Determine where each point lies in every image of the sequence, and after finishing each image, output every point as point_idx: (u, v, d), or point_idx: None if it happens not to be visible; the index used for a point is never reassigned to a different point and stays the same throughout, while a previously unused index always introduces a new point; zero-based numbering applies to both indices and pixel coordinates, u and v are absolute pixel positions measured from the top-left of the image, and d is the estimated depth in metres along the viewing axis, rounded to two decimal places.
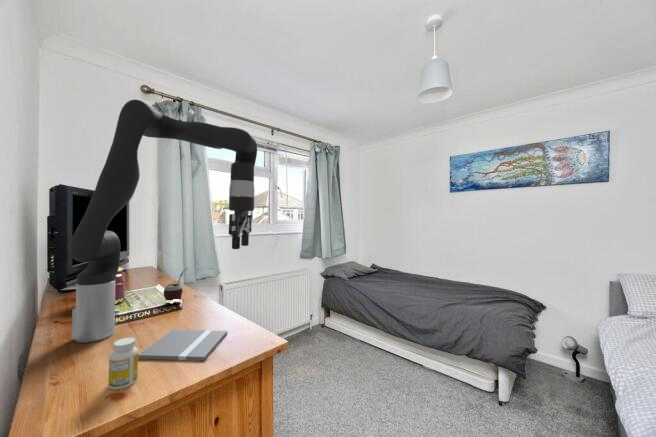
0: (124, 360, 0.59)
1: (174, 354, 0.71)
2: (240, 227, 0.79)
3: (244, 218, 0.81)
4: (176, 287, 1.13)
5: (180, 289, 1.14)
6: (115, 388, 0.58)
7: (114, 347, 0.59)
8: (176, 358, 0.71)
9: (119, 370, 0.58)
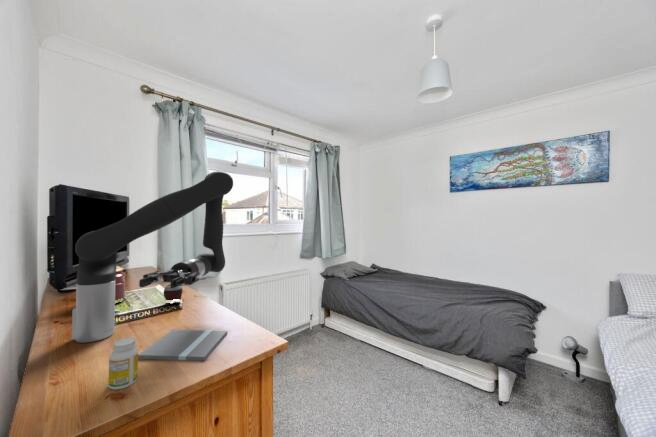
0: (124, 360, 0.59)
1: (174, 354, 0.71)
2: None
3: None
4: (176, 287, 1.13)
5: (180, 289, 1.14)
6: (115, 388, 0.58)
7: (114, 347, 0.59)
8: (176, 358, 0.71)
9: (119, 370, 0.58)
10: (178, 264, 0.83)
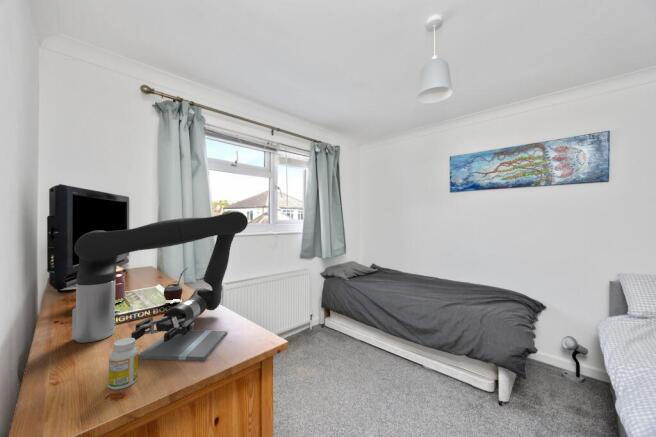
0: (124, 360, 0.59)
1: (174, 354, 0.71)
2: None
3: None
4: (176, 287, 1.13)
5: (180, 289, 1.14)
6: (115, 388, 0.58)
7: (114, 347, 0.59)
8: (176, 358, 0.71)
9: (119, 370, 0.58)
10: (172, 310, 0.81)
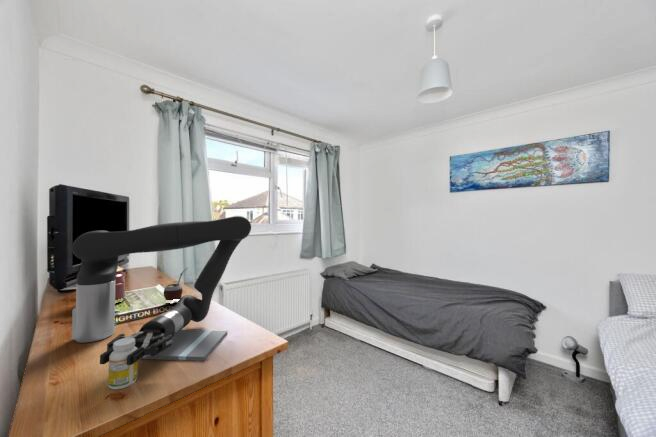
0: (124, 360, 0.59)
1: (174, 354, 0.71)
2: None
3: None
4: (176, 287, 1.13)
5: (180, 289, 1.14)
6: (115, 388, 0.58)
7: (114, 347, 0.59)
8: (176, 358, 0.71)
9: (119, 369, 0.58)
10: (149, 323, 0.70)
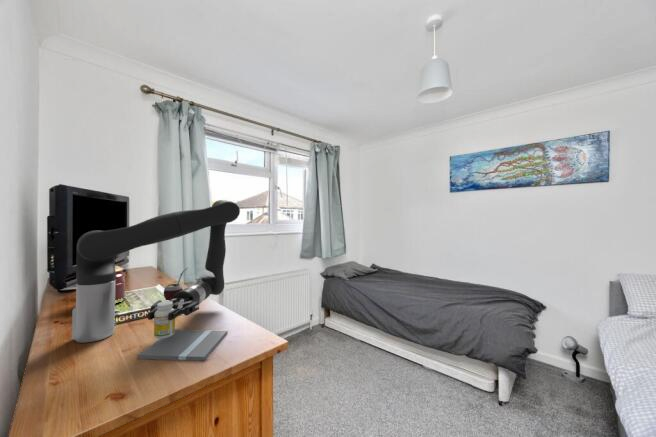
0: (166, 317, 0.77)
1: (174, 354, 0.71)
2: None
3: None
4: (176, 287, 1.13)
5: (180, 289, 1.14)
6: (160, 337, 0.76)
7: (158, 307, 0.77)
8: (176, 358, 0.71)
9: (162, 323, 0.76)
10: (180, 293, 0.88)
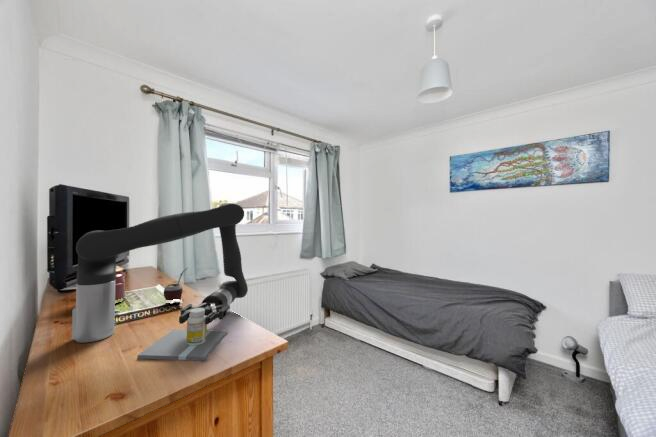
0: (199, 323, 0.77)
1: (174, 354, 0.71)
2: None
3: None
4: (176, 287, 1.13)
5: (180, 289, 1.14)
6: (193, 344, 0.76)
7: (191, 313, 0.77)
8: (176, 358, 0.71)
9: (196, 330, 0.76)
10: (210, 297, 0.88)
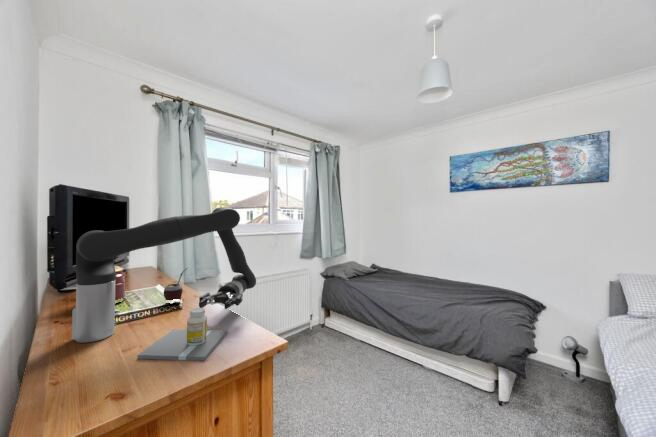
0: (199, 323, 0.77)
1: (174, 354, 0.71)
2: None
3: None
4: (176, 287, 1.13)
5: (180, 289, 1.14)
6: (193, 344, 0.76)
7: (191, 313, 0.77)
8: (176, 358, 0.71)
9: (196, 330, 0.76)
10: (224, 287, 1.01)
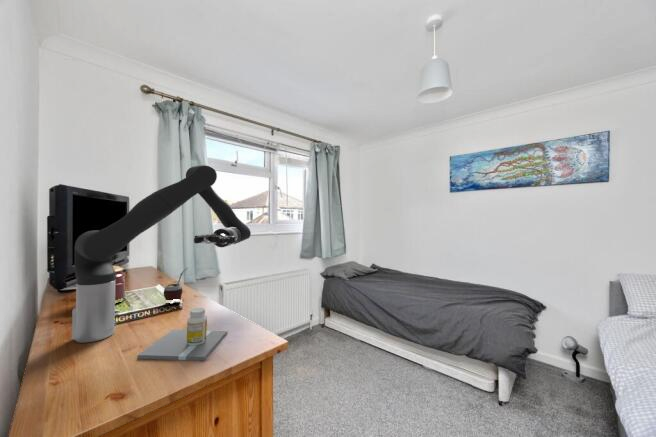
0: (199, 323, 0.77)
1: (174, 354, 0.71)
2: None
3: None
4: (176, 287, 1.13)
5: (180, 289, 1.14)
6: (193, 344, 0.76)
7: (191, 313, 0.77)
8: (176, 358, 0.71)
9: (196, 330, 0.76)
10: (219, 230, 1.04)
